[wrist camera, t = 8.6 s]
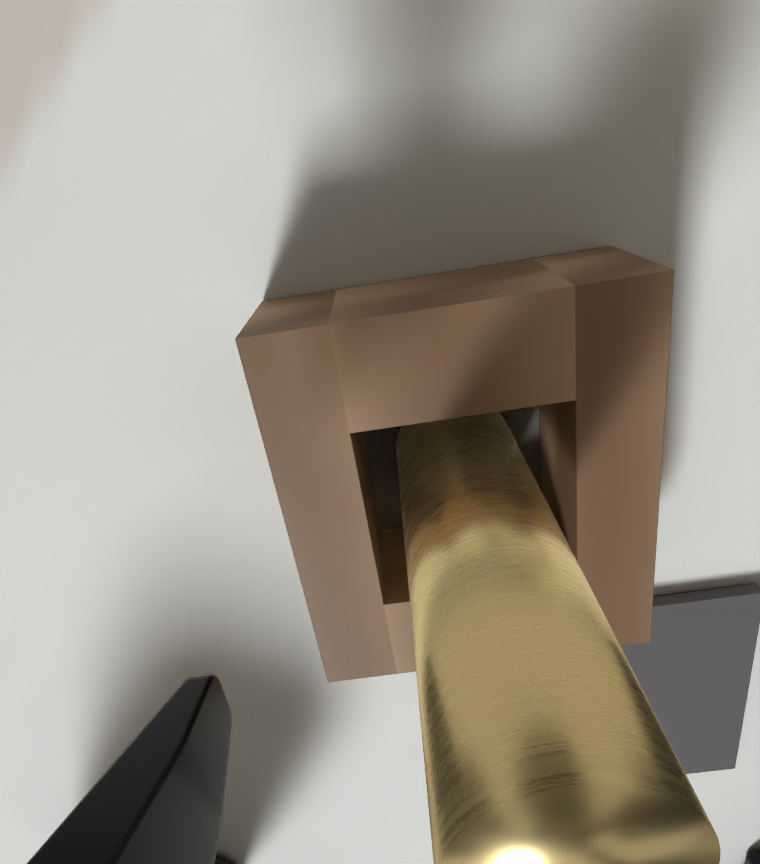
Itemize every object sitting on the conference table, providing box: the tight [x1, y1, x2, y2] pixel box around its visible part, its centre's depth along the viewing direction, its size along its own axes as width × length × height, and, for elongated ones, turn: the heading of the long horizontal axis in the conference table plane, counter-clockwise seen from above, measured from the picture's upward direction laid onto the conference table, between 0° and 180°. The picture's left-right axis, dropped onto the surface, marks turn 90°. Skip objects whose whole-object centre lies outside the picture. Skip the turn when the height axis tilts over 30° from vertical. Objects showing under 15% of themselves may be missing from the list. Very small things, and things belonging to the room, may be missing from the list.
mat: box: [621, 583, 760, 774], centre depth 19 cm, size 9×8×1 cm
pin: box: [396, 412, 720, 864], centre depth 11 cm, size 3×3×10 cm
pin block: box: [235, 246, 674, 682], centre depth 14 cm, size 8×9×3 cm
